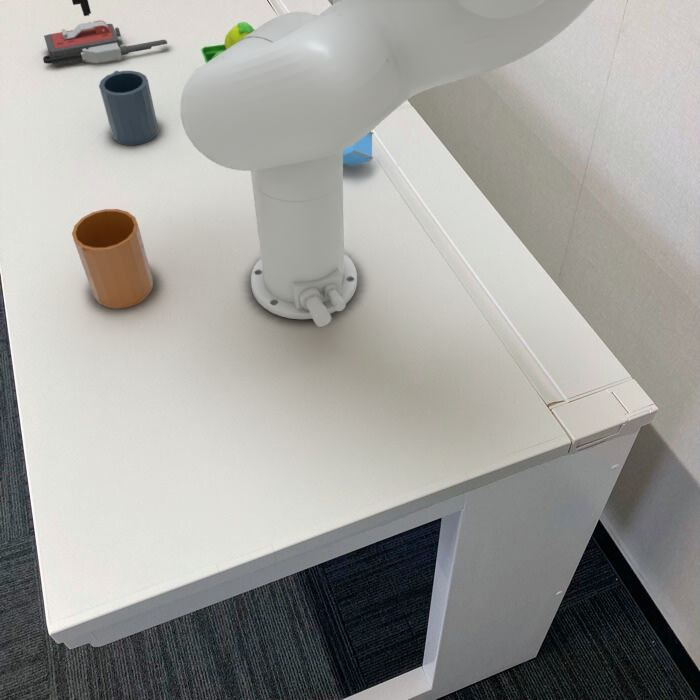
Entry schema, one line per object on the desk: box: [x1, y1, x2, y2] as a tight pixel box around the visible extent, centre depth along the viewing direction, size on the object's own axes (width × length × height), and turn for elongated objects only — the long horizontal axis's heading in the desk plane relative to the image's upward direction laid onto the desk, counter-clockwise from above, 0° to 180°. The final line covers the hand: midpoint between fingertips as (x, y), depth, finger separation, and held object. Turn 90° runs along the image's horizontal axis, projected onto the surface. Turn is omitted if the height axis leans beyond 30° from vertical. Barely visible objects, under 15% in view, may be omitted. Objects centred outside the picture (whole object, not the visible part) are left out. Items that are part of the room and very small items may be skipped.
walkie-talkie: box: [42, 19, 168, 67], centre depth 128 cm, size 9×4×20 cm
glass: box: [71, 208, 154, 310], centre depth 88 cm, size 7×7×9 cm
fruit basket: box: [200, 21, 255, 64], centre depth 118 cm, size 11×9×11 cm
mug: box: [98, 70, 159, 146], centre depth 111 cm, size 10×7×8 cm
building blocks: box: [343, 131, 374, 167], centre depth 107 cm, size 8×8×12 cm
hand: (134, 2), depth 77 cm, fingers open, 9 cm apart
